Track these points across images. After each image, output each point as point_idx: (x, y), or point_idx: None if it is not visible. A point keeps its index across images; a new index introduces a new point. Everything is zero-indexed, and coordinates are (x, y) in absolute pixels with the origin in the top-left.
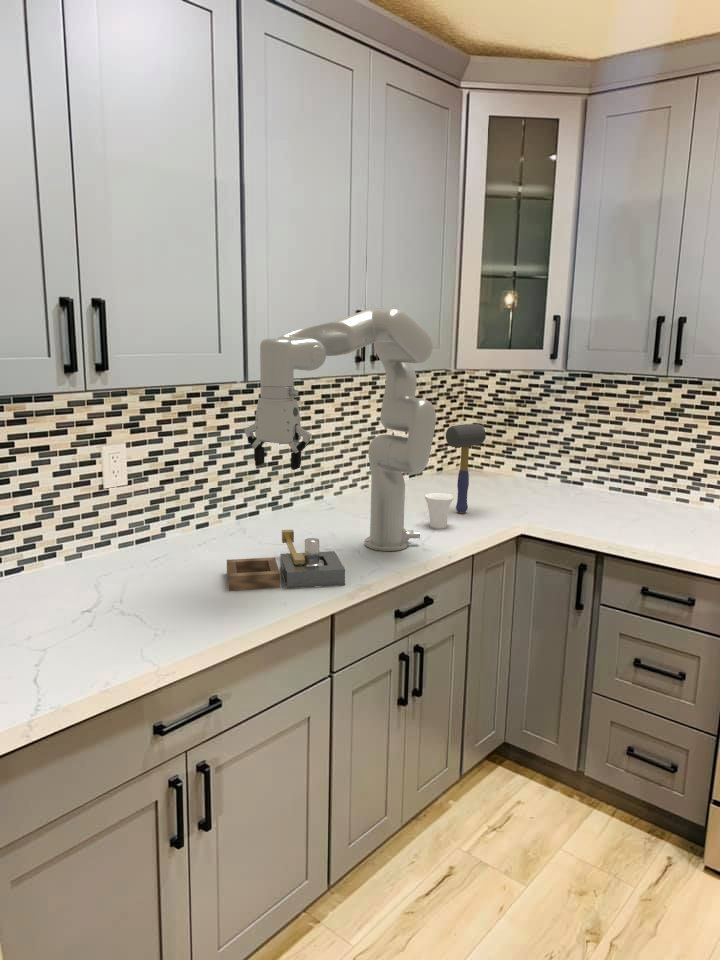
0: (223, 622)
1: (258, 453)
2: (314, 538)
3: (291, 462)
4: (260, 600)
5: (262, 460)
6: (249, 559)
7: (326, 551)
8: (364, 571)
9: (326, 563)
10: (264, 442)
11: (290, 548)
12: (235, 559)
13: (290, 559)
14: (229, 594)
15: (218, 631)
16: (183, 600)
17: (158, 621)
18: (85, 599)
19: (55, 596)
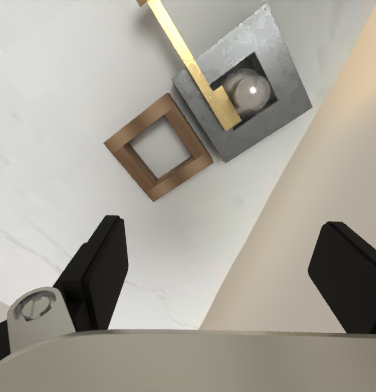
0: (200, 261)
1: (109, 313)
2: (255, 77)
3: (327, 299)
4: (207, 203)
5: (119, 243)
6: (134, 125)
7: (251, 14)
8: (321, 18)
9: (269, 84)
10: (73, 328)
11: (189, 69)
12: (114, 135)
13: (203, 101)
14: (163, 202)
15: (207, 276)
16: (128, 235)
17: (143, 279)
18: (40, 269)
19: (9, 274)
